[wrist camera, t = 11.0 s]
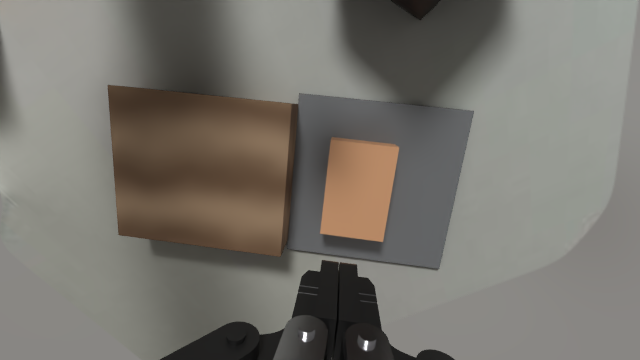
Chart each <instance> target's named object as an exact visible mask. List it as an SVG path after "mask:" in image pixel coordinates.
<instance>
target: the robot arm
mask: <svg viewBox="0 0 640 360" xmlns="http://www.w3.org/2000/svg"><path fill="white" fill-rule="evenodd" d="M338 265H339V271H338ZM331 358H332V360H454V359H453V358H452V357H450V356H449V355H447V354H445V353H443V352H440V351H437V350H424V351H421V352H420V353H419V354H418V355H417V357H416V358H415V357H413V356H410V355H408V354H405V353H403V352H401V351H399V350H397V349H395V348H394V347H393V346H391V345H390V343H389V340H388V338H387V336H386V334H385V333H384V332H383V331H382V329H381V323H380V317H379V311H378V305H377V299H376V293H375V287H374V285H373V284H372V282H371V281H370V280H369V279H368V278H364V277H358V273H357V265H356V264H348V263H341V262H340V264H339V262H333V261H325V260H322V264H321V271H320V272H318V271H310V270H308V271H307V272H306V273H305V274H304V275H303V276H302V278H301V282H300V286H299V290H298V294H297V299H296V303H295V307H294V311H293V315H292V319H291V320H289V321H288V323H287V324H286V326H285V328H284V329H282V330H280V331H278V332H275V333H271V334H263V335H259V332H258V330H257V329H256V327H254V326H253V325H251V324H249V323H246V322H232V323H229V324H226V325H224V326H222V327H220V328H218V329H217V330H215V331H213V332H211V333H209V334H207V335H205V336H203V337H201V338H200V339H198V340H196V341H194V342H192V343H190V344H188V345H186V346H185V347H183V348H181V349H179V350H177V351H175V352H173V353H171V354H169V355H168V356H166V357H164V358H162V359H160V360H331Z"/></svg>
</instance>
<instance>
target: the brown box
mask: <svg viewBox="0 0 640 360" xmlns="http://www.w3.org/2000/svg"><path fill="white" fill-rule="evenodd" d="M108 96H109V110H110V124H111V137H112V151H113V165H114V178H115V192H116V206H117V219H118V233H119V235H122V236H130V237H137V238H145V239H152V240H160V241H167V242H175V243H182V244H189V245H197V246H204V247H212V248H219V249H227V250H234V251H242V252H249V253H257V254H264V255H272V256H279V257H280V256H281V254H282V252H283V250H284V247H285V245H286V243H287V240H288V230H289V217H290V204H291V192H292V179H293V166H294V154H295V141H296V128H297V116H298V104H291V103H281V102H271V101H261V100H252V99H242V98H232V97H223V96H213V95H203V94H194V93H184V92H174V91H164V90H155V89H145V88H135V87H124V86H113V85H108Z"/></svg>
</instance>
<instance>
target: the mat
mask: <svg viewBox="0 0 640 360" xmlns="http://www.w3.org/2000/svg"><path fill="white" fill-rule="evenodd" d="M473 114H474V111H469V110H459V109H449V108H439V107H429V106H420V105H410V104H400V103H390V102H380V101H370V100H360V99H350V98H340V97H330V96H320V95H311V94H301V93H299V103H298V116H297V128H296V141H295V154H294V166H293V179H292V192H291V204H290V217H289V230H288V242H287V249H293V250H301V251H309V252H316V253H324V254H331V255H339V256H346V257H354V258H362V259H369V260H377V261H384V262H392V263H400V264H407V265H415V266H422V267H430V268H437V269H439V267H440V263H441V258H442V253H443V249H444V244H445V240H446V235H447V231H448V226H449V222H450V217H451V213H452V208H453V204H454V199H455V195H456V190H457V186H458V181H459V177H460V172H461V168H462V163H463V159H464V154H465V150H466V145H467V141H468V136H469V132H470V127H471V123H472V118H473ZM332 137H336V138H345V139H354V140H362V141H371V142H379V143H388V144H395V145H397V146H398V147H399V152H398V158H397V164H396V170H395V176H394V181H393V187H392V193H391V199H390V204H389V210H388V216H387V222H386V228H385V233H384V239H383V242H379V241H371V240H364V239H356V238H349V237H342V236H334V235H327V234H320V229H321V221H322V212H323V203H324V195H325V186H326V177H327V168H328V160H329V151H330V142H331V138H332Z"/></svg>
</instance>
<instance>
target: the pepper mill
mask: <svg viewBox="0 0 640 360" xmlns="http://www.w3.org/2000/svg"><path fill="white" fill-rule="evenodd" d="M391 1H392V2H394V3H395V4H397V5H398V6H400V7H401V8H403V9H404V10H406V11H407V12H409V13H410V14H412V15H413V16H415V17H416V18H418V19H419V20H421V19H422V18H423V17H424V16H425V15H427V14H428V13H429V12H430V11H431V10H432V9H433V8H434V7H435V6H436V5H437V4H438V2H439V1H440V0H391Z"/></svg>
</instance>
